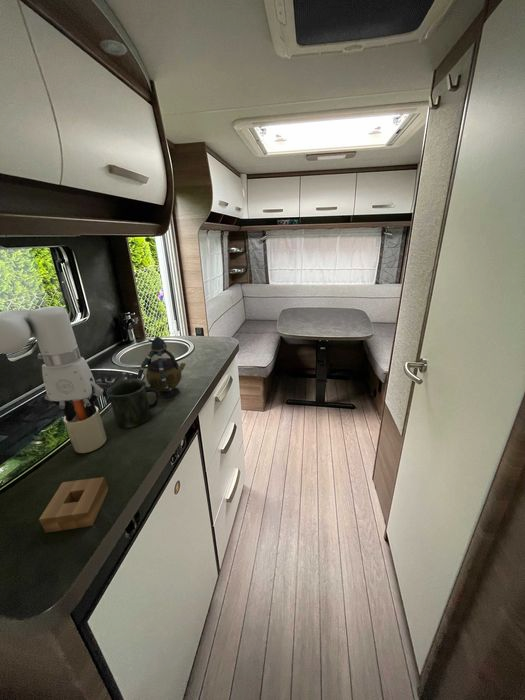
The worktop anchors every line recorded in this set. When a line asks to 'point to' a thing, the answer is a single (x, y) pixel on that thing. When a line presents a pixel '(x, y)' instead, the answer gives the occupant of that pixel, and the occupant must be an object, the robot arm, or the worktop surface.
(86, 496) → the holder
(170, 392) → the teapot
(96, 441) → the cup
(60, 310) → the robot arm
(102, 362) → the worktop surface
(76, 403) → the orange rod
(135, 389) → the mug
